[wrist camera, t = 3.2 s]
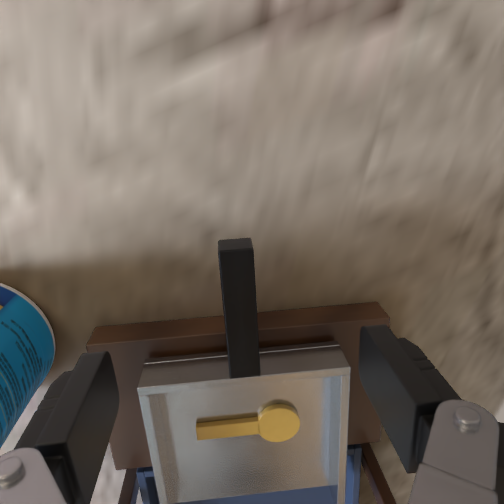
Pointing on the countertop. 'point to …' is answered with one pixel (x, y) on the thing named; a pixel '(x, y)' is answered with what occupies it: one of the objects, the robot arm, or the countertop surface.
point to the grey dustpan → (245, 405)
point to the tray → (299, 500)
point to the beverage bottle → (21, 354)
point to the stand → (214, 340)
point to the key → (255, 425)
